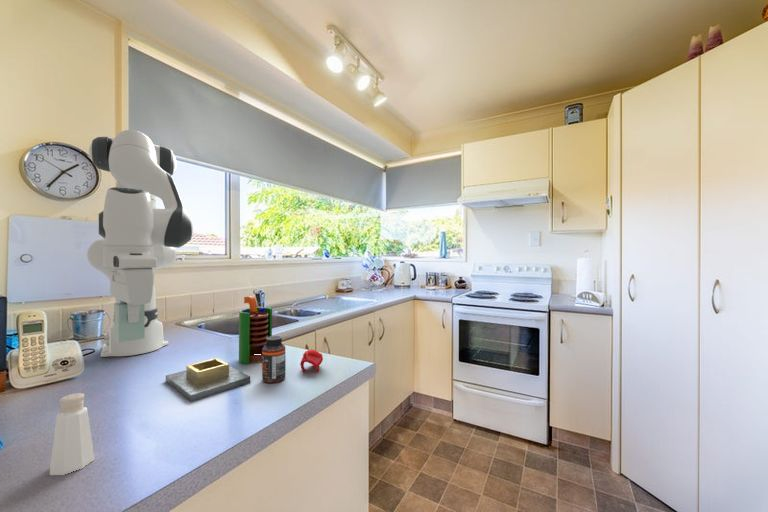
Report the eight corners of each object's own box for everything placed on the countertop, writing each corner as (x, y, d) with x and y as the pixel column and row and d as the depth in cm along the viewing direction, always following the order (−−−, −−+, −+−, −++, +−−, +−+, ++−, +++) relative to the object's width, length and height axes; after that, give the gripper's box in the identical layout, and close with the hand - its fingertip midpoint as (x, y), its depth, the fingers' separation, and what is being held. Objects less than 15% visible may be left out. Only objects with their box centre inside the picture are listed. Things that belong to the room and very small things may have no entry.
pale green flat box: (114, 338, 70) (114, 296, 70) (139, 334, 74) (139, 294, 73) (118, 342, 67) (118, 298, 67) (144, 338, 71) (144, 296, 71)
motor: (257, 365, 94) (257, 299, 94) (231, 363, 96) (231, 298, 96) (275, 354, 104) (275, 295, 104) (251, 352, 106) (251, 294, 106)
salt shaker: (39, 480, 46) (38, 407, 46) (59, 458, 51) (59, 392, 51) (86, 470, 48) (86, 400, 48) (101, 450, 53) (101, 386, 53)
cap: (320, 364, 86) (327, 347, 91) (299, 357, 86) (308, 340, 91) (315, 380, 91) (323, 363, 96) (296, 373, 91) (305, 357, 96)
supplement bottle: (258, 379, 84) (257, 337, 83) (278, 373, 88) (278, 333, 88) (268, 386, 79) (268, 341, 79) (289, 379, 84) (289, 337, 84)
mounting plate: (165, 381, 82) (165, 364, 82) (220, 366, 93) (220, 351, 93) (191, 401, 71) (190, 382, 71) (250, 382, 82) (250, 365, 82)
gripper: (101, 258, 74) (102, 316, 75) (121, 260, 61) (121, 330, 61) (135, 258, 79) (135, 312, 79) (159, 259, 66) (159, 324, 66)
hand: (129, 320), depth 70 cm, fingers closed on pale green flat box, 4 cm apart
